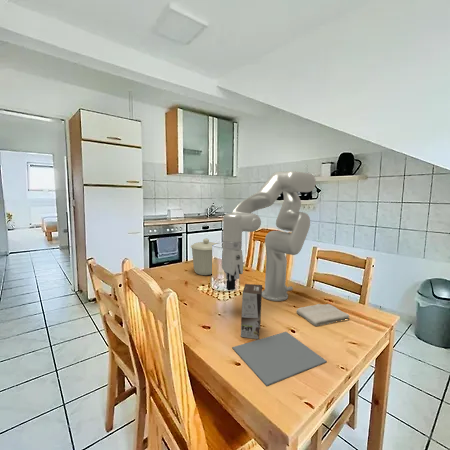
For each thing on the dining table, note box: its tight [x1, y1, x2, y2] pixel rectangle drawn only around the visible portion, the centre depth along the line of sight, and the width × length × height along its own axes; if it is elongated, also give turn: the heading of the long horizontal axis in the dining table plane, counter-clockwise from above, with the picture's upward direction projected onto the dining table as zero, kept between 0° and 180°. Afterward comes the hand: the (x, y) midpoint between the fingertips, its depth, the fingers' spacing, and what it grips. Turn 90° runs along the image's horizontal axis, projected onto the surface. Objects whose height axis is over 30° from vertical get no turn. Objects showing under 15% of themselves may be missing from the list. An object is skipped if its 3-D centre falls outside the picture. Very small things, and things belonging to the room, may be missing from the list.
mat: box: [232, 331, 327, 387], centre depth 80 cm, size 22×18×1 cm
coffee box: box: [240, 283, 263, 340], centre depth 92 cm, size 9×6×16 cm
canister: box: [190, 238, 218, 276], centre depth 157 cm, size 18×18×21 cm
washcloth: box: [295, 303, 350, 327], centre depth 106 cm, size 12×18×3 cm, turn 112°
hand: (230, 289), depth 106 cm, fingers closed
